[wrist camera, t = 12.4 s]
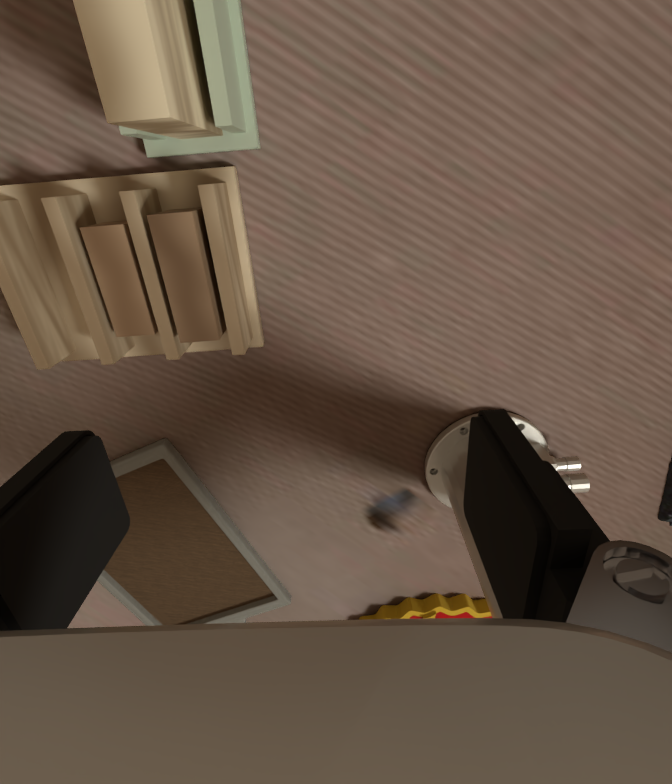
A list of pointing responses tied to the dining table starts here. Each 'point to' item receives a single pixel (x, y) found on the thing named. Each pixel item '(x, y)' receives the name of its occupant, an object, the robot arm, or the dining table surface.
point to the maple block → (149, 65)
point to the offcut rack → (133, 203)
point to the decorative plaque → (434, 608)
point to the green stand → (217, 86)
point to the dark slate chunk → (667, 499)
